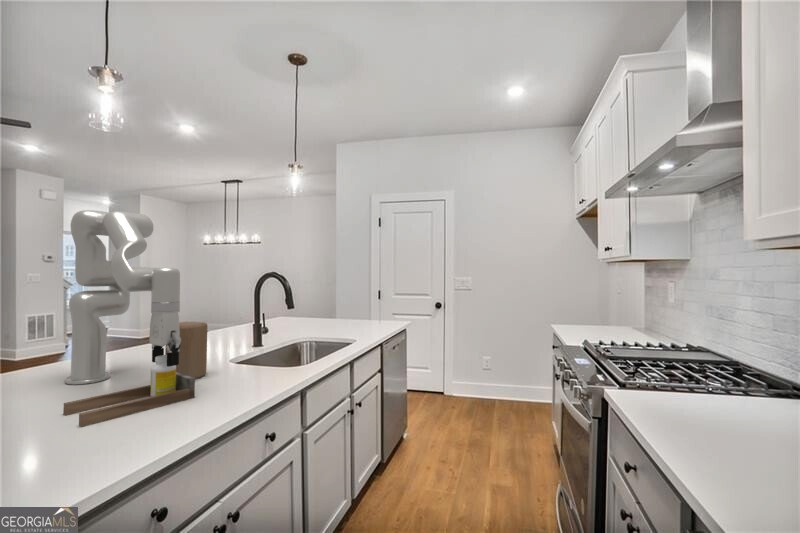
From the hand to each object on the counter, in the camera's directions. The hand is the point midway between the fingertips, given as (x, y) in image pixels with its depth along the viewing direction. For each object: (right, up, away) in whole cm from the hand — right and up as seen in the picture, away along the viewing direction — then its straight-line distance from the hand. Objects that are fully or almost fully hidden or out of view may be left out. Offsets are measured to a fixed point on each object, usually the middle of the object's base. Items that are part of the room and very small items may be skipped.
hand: (165, 363), depth 117 cm
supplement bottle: (-1, -11, 0) cm, 11 cm away
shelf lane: (-5, -11, -6) cm, 13 cm away
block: (-6, -11, +22) cm, 26 cm away
